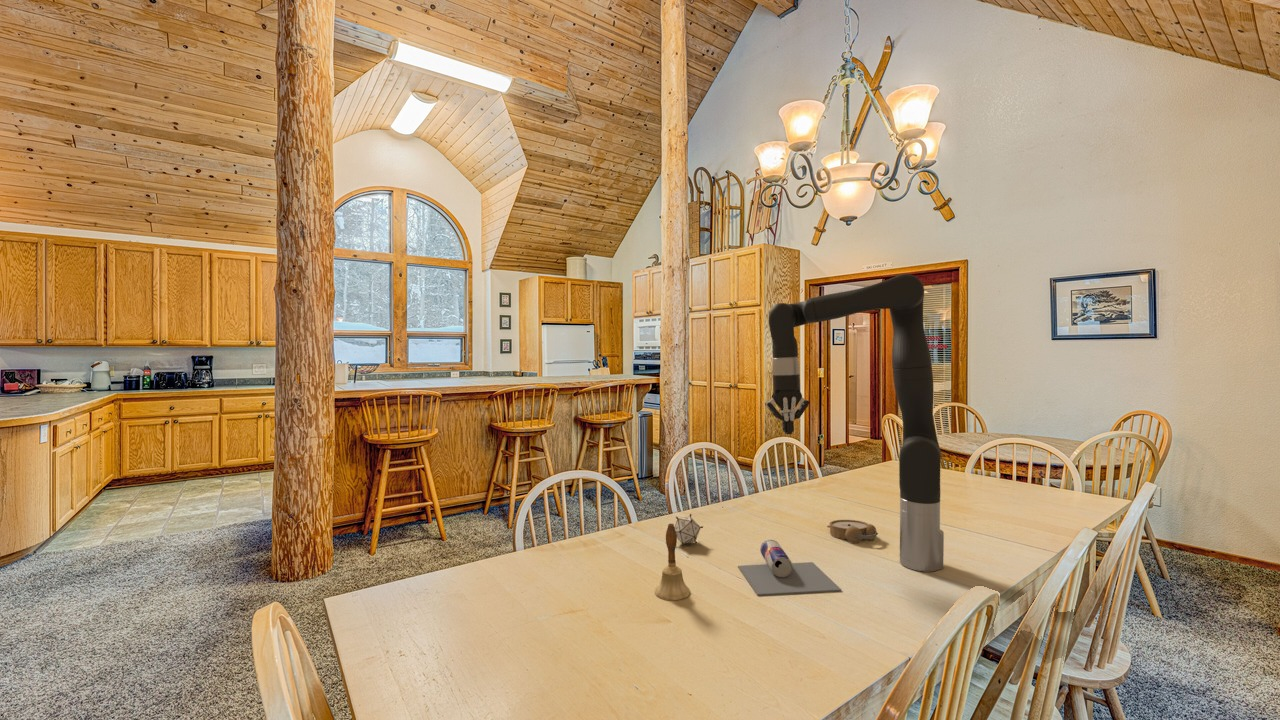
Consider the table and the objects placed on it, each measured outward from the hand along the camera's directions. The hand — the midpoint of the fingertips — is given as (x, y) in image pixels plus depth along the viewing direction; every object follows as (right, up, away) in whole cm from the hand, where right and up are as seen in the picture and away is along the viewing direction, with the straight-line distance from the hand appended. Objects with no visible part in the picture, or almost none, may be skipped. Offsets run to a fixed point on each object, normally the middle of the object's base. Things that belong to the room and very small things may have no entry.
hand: (788, 433), depth 155 cm
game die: (-29, -32, +1) cm, 43 cm away
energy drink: (-8, -29, -11) cm, 32 cm away
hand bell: (-35, -33, -29) cm, 56 cm away
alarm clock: (+21, -32, +6) cm, 39 cm away
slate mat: (-7, -32, -22) cm, 40 cm away
